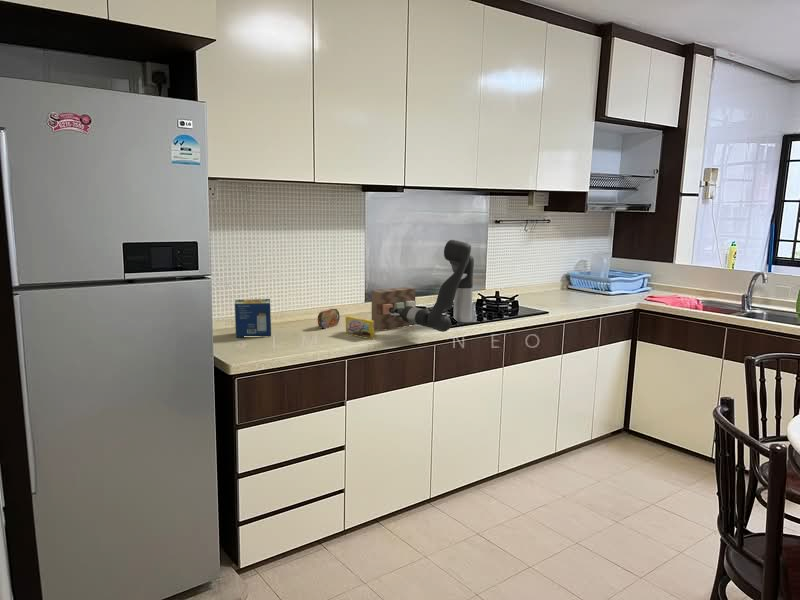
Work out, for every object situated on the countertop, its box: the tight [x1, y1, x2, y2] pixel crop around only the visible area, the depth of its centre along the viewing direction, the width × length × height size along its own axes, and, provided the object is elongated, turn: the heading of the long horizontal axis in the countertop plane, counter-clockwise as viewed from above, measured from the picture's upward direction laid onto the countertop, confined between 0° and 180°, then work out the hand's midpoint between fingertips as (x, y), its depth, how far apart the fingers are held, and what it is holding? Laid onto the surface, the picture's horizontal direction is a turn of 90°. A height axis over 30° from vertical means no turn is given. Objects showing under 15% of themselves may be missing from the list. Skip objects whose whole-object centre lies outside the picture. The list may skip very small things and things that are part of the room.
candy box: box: [345, 315, 375, 340], centre depth 263 cm, size 16×2×8 cm, turn 50°
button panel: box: [371, 286, 416, 331], centre depth 283 cm, size 21×7×18 cm, turn 128°
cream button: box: [406, 300, 417, 308], centre depth 284 cm, size 4×3×4 cm
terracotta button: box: [382, 303, 393, 315], centre depth 275 cm, size 4×3×4 cm
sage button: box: [394, 302, 404, 308], centre depth 279 cm, size 4×3×4 cm
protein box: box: [234, 298, 272, 338], centre depth 263 cm, size 10×15×16 cm
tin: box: [317, 308, 341, 330], centre depth 282 cm, size 15×3×8 cm, turn 151°
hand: (390, 309), depth 273 cm, fingers closed
